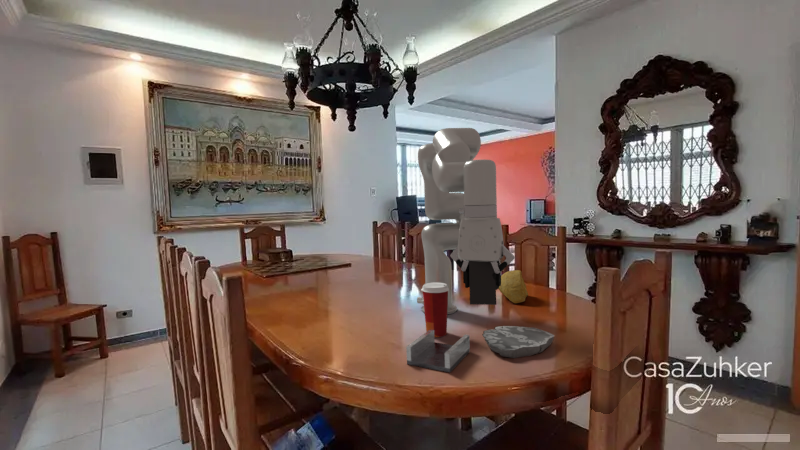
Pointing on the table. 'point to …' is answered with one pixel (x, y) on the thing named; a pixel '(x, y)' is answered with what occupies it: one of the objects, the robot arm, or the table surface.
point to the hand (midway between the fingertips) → (482, 287)
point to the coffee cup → (436, 307)
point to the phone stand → (482, 283)
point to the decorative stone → (513, 286)
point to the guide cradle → (437, 352)
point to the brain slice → (517, 340)
